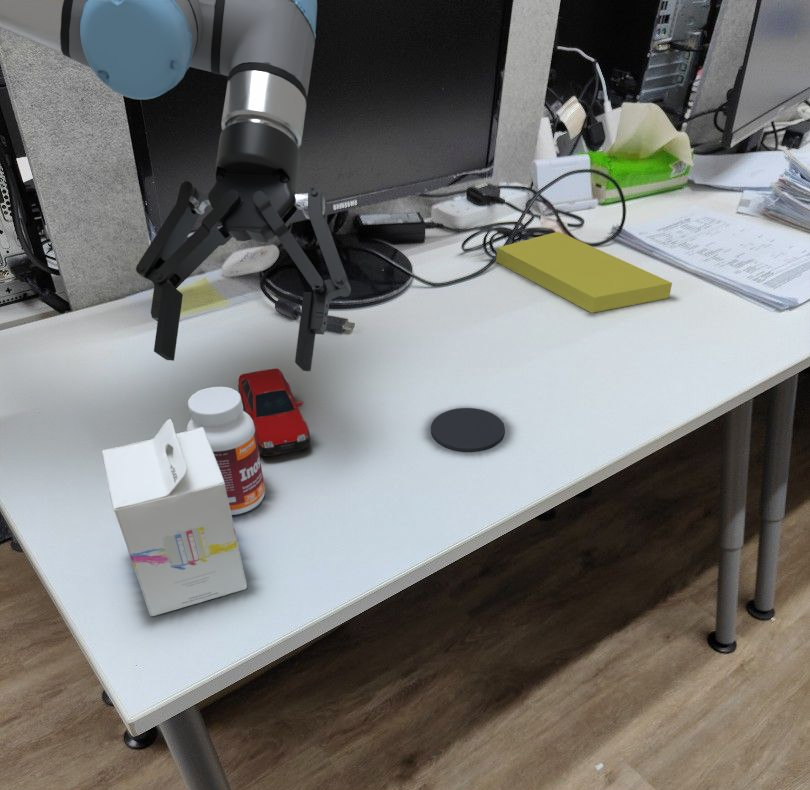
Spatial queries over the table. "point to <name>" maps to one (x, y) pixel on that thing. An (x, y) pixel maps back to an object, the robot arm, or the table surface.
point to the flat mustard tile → (582, 273)
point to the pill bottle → (230, 444)
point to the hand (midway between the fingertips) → (232, 361)
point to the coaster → (467, 429)
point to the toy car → (273, 412)
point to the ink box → (175, 518)
